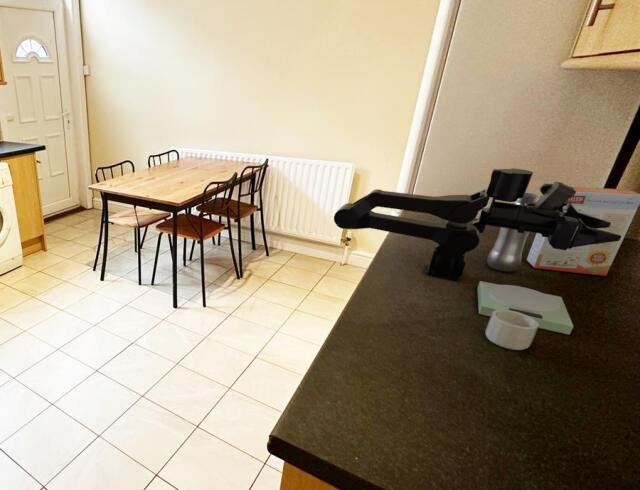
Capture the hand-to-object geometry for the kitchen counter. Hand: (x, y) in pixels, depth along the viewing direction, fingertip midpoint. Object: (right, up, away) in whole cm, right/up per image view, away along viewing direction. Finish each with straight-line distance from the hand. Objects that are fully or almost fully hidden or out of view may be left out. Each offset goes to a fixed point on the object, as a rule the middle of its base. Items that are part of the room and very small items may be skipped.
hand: (615, 231), depth 85 cm
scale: (-15, -17, +5) cm, 23 cm away
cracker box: (+13, -8, +22) cm, 27 cm away
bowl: (-27, -22, -5) cm, 35 cm away
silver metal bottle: (-3, -9, +23) cm, 24 cm away
